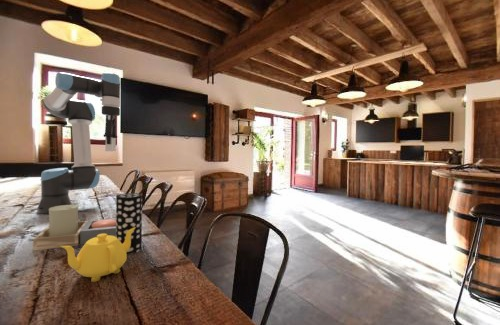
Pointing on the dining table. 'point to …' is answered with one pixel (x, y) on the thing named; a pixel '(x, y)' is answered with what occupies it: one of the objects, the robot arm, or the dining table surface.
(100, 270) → the teapot
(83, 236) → the grey square tray
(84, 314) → the dining table surface
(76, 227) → the can
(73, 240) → the wooden tray
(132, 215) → the spotted tube
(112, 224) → the pad
